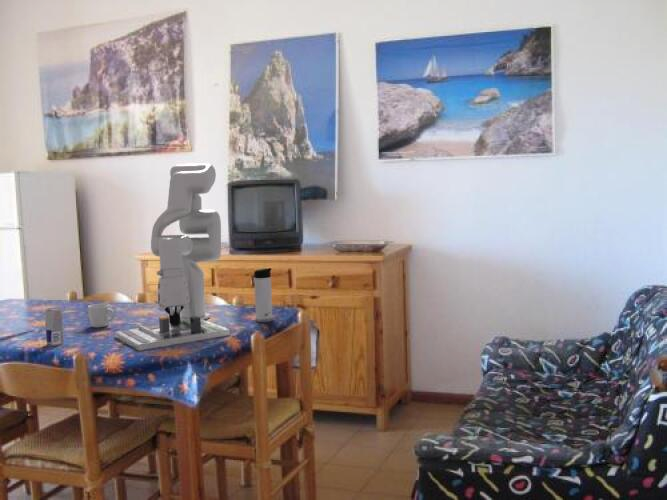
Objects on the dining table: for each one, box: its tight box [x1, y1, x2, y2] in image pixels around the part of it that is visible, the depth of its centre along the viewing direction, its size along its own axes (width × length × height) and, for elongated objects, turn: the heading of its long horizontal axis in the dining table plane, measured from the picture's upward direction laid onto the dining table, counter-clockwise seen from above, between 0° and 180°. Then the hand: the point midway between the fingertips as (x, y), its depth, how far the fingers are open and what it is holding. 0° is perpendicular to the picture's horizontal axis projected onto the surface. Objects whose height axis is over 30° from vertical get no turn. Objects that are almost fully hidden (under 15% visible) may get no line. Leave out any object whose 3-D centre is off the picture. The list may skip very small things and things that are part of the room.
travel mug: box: [253, 267, 273, 323], centre depth 256 cm, size 6×7×20 cm
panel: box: [114, 308, 230, 351], centre depth 235 cm, size 24×32×7 cm
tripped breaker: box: [158, 315, 170, 332], centre depth 234 cm, size 3×2×5 cm
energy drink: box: [44, 307, 65, 347], centre depth 228 cm, size 5×5×12 cm
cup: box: [87, 303, 116, 328], centre depth 255 cm, size 11×8×8 cm
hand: (174, 325), depth 236 cm, fingers closed
